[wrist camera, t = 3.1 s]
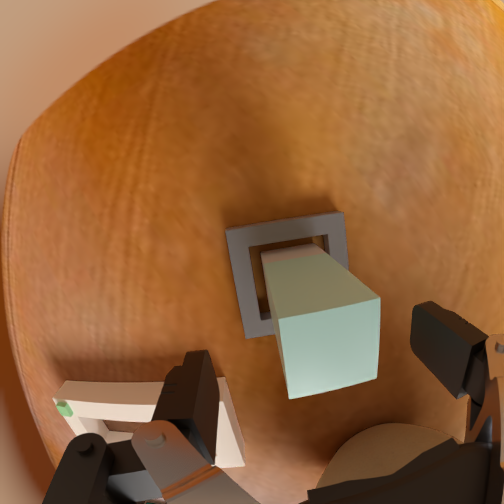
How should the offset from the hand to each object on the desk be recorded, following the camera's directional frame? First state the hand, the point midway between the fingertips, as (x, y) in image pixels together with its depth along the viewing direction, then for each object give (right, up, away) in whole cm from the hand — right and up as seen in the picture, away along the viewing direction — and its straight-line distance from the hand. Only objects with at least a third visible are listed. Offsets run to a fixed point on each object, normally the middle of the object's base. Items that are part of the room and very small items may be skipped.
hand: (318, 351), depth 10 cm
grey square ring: (0, +2, +9) cm, 10 cm away
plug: (0, +2, +9) cm, 10 cm away
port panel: (-12, -12, +12) cm, 20 cm away
